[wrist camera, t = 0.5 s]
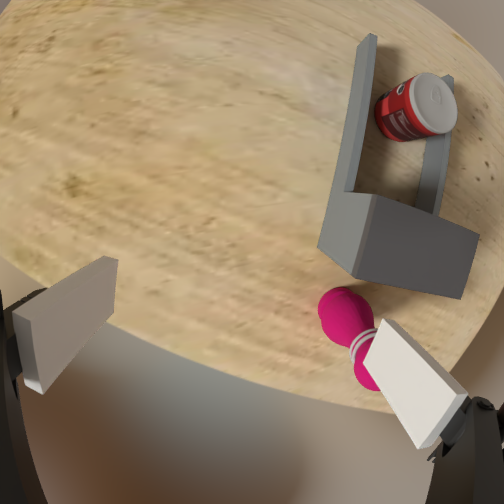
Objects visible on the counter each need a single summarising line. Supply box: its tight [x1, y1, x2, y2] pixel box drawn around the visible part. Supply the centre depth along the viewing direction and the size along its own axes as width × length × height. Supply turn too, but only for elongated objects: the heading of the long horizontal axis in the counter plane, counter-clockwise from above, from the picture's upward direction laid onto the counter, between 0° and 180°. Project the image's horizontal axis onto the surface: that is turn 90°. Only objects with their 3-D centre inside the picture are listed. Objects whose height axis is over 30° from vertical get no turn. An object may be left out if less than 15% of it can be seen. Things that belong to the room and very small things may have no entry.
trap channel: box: [317, 33, 480, 300], centre depth 30 cm, size 32×15×14 cm, turn 168°
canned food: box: [375, 73, 458, 142], centre depth 30 cm, size 8×8×11 cm
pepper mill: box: [318, 287, 381, 391], centre depth 32 cm, size 7×7×20 cm
